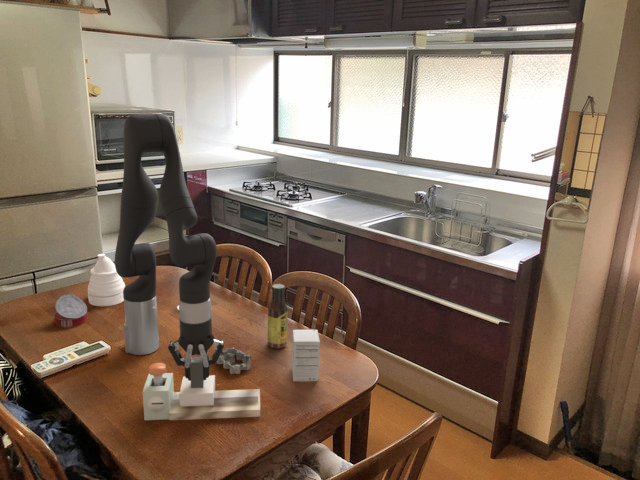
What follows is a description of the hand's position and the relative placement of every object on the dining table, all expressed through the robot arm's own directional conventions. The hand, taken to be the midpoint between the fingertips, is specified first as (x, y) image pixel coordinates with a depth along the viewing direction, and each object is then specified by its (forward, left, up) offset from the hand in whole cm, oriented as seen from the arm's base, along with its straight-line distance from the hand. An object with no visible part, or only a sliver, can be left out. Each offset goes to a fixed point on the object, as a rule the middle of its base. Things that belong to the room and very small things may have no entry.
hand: (197, 378), depth 130 cm
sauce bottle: (+21, +32, -9) cm, 40 cm away
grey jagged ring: (+8, +21, -9) cm, 24 cm away
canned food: (-47, +52, -9) cm, 70 cm away
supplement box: (+28, +14, -9) cm, 33 cm away
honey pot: (-40, +70, -9) cm, 81 cm away
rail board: (+4, 0, -9) cm, 10 cm away
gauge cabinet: (-10, 0, -9) cm, 13 cm away
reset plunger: (-10, 0, -3) cm, 10 cm away
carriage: (0, 0, -6) cm, 6 cm away
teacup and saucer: (-9, +59, -9) cm, 60 cm away
